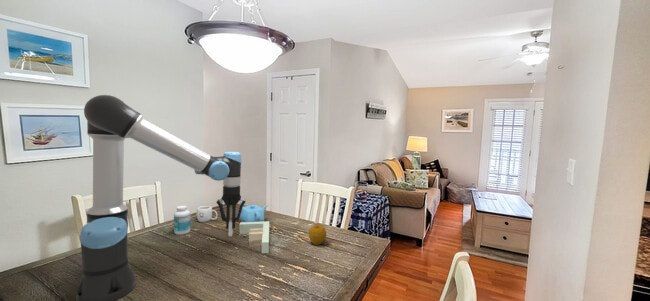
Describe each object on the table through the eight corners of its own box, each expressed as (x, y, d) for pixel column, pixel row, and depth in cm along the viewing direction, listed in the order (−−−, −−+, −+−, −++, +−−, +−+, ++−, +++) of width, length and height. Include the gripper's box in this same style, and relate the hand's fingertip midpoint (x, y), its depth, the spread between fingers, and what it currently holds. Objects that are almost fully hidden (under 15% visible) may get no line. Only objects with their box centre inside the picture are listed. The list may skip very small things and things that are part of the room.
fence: (268, 253, 118) (268, 242, 118) (233, 255, 115) (233, 244, 115) (269, 230, 144) (269, 221, 143) (240, 231, 141) (240, 222, 140)
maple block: (262, 245, 126) (262, 233, 125) (249, 246, 124) (249, 233, 124) (262, 240, 131) (262, 228, 131) (250, 240, 130) (250, 228, 130)
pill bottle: (173, 231, 139) (173, 205, 138) (189, 228, 143) (189, 203, 142) (174, 236, 133) (174, 209, 131) (191, 233, 137) (191, 207, 135)
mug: (193, 222, 151) (193, 209, 151) (201, 217, 160) (201, 204, 159) (214, 223, 151) (213, 210, 150) (220, 218, 159) (220, 205, 158)
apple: (329, 244, 129) (330, 226, 128) (315, 249, 123) (316, 230, 123) (319, 238, 135) (319, 221, 135) (305, 242, 130) (305, 224, 129)
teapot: (232, 223, 152) (232, 204, 151) (262, 217, 163) (262, 199, 161) (242, 233, 139) (243, 211, 138) (274, 226, 150) (274, 206, 149)
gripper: (247, 183, 128) (245, 231, 130) (218, 183, 125) (217, 232, 127) (245, 187, 121) (244, 238, 122) (215, 187, 118) (214, 238, 120)
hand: (230, 235), depth 125 cm, fingers closed
